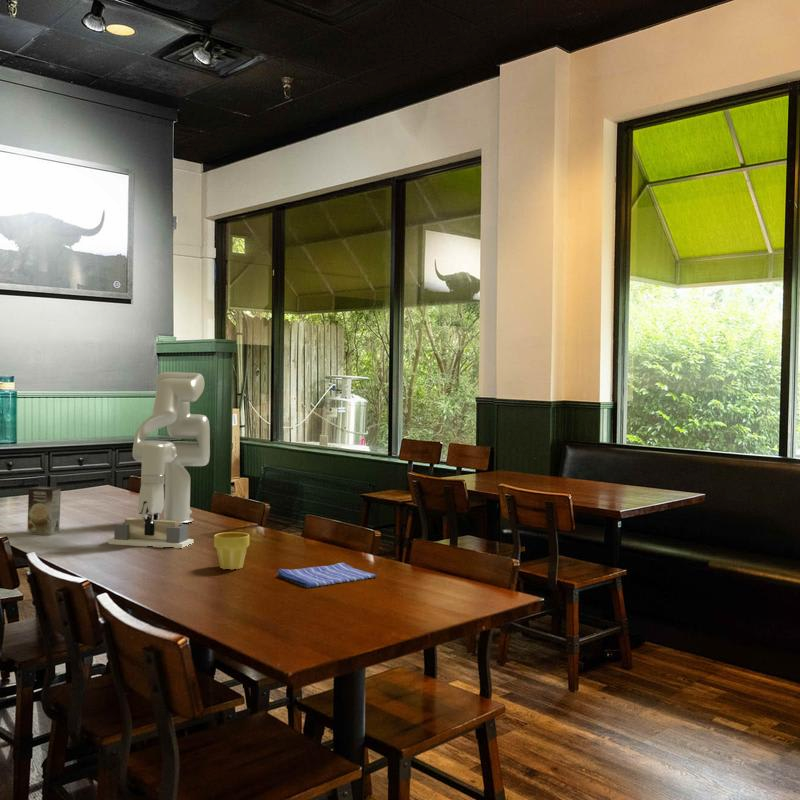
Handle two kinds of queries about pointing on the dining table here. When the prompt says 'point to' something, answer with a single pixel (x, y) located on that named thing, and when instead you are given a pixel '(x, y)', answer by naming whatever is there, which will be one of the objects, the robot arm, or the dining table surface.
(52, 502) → the coffee box
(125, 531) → the end cap board
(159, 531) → the slat
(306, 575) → the dish towel
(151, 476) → the robot arm
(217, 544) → the plant pot
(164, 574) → the dining table surface
